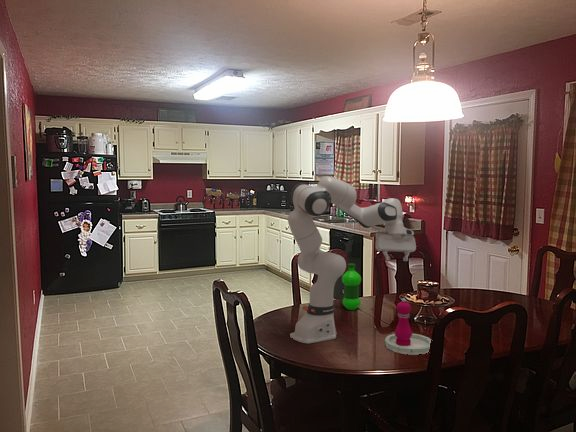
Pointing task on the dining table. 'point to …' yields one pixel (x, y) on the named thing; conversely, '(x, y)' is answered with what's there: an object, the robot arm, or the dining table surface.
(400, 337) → the pepper mill
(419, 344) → the round dish
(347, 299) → the plastic bottle
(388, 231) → the robot arm
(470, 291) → the dining table surface
